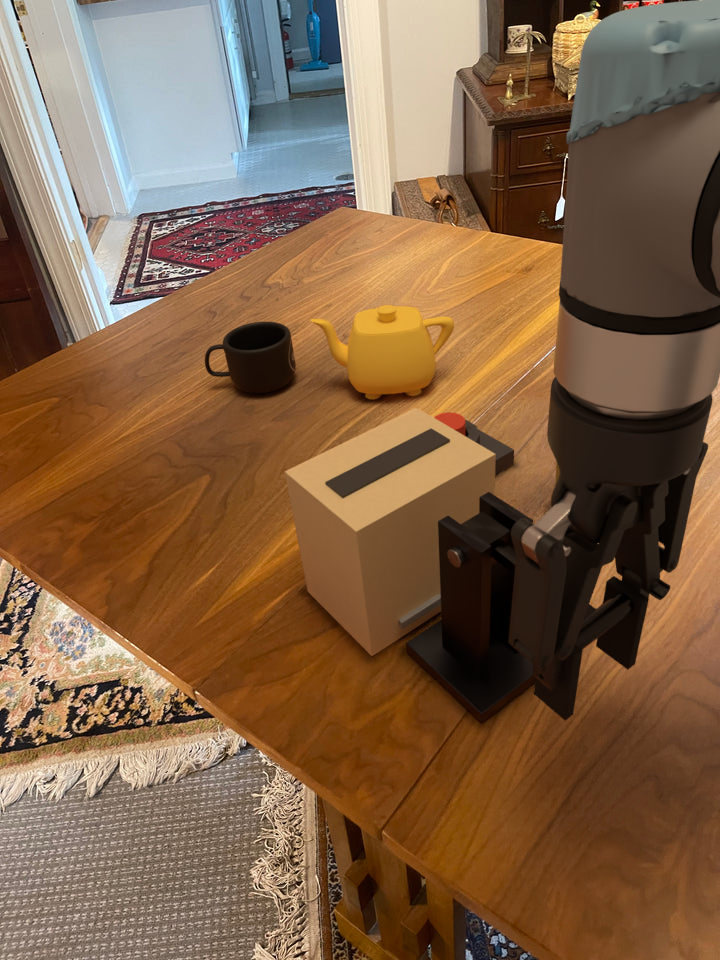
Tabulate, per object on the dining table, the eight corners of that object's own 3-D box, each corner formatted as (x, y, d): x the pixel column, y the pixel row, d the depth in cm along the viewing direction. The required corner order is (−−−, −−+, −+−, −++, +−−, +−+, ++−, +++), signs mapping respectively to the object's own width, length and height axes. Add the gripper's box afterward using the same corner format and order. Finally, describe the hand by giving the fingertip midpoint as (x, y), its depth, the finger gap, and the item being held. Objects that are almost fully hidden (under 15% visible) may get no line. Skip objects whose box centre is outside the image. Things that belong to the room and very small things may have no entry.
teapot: (318, 411, 94) (307, 334, 87) (321, 369, 102) (311, 297, 96) (460, 399, 93) (459, 321, 86) (450, 358, 101) (449, 284, 95)
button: (472, 437, 79) (472, 421, 78) (447, 450, 78) (447, 434, 77) (450, 424, 82) (449, 408, 81) (425, 436, 80) (424, 420, 79)
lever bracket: (562, 661, 59) (578, 523, 50) (481, 723, 55) (483, 585, 47) (484, 600, 65) (486, 466, 56) (406, 652, 62) (395, 517, 53)
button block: (513, 464, 81) (515, 434, 78) (445, 503, 77) (444, 472, 74) (452, 428, 88) (452, 399, 85) (386, 462, 83) (384, 433, 81)
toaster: (496, 580, 67) (500, 453, 59) (375, 660, 61) (359, 532, 53) (422, 525, 74) (416, 404, 66) (307, 591, 68) (283, 468, 60)
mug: (297, 363, 104) (289, 317, 100) (298, 395, 97) (290, 346, 93) (213, 374, 104) (202, 328, 100) (208, 406, 97) (196, 358, 93)
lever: (631, 621, 48) (637, 596, 46) (573, 665, 45) (578, 640, 44) (497, 524, 55) (499, 500, 54) (442, 558, 53) (443, 534, 52)
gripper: (680, 299, 42) (627, 583, 56) (435, 423, 34) (445, 718, 48) (810, 341, 37) (717, 642, 51) (559, 497, 29) (530, 802, 43)
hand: (585, 678), depth 50 cm, fingers closed on lever, 5 cm apart
